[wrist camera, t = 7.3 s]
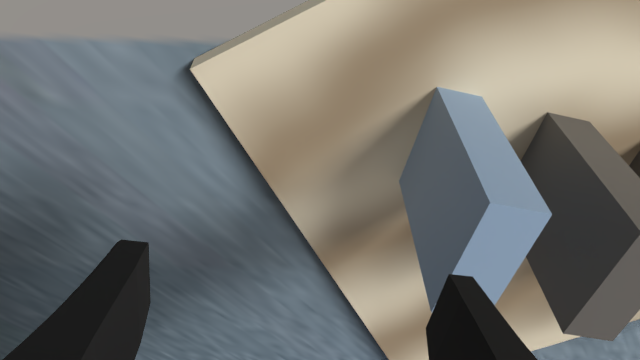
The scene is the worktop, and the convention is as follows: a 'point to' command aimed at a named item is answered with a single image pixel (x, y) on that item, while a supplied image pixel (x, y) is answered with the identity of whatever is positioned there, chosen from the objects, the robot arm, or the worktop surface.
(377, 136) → the board
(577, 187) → the tile
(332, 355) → the worktop surface
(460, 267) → the tile blue
